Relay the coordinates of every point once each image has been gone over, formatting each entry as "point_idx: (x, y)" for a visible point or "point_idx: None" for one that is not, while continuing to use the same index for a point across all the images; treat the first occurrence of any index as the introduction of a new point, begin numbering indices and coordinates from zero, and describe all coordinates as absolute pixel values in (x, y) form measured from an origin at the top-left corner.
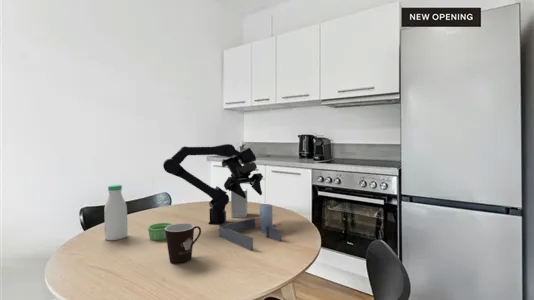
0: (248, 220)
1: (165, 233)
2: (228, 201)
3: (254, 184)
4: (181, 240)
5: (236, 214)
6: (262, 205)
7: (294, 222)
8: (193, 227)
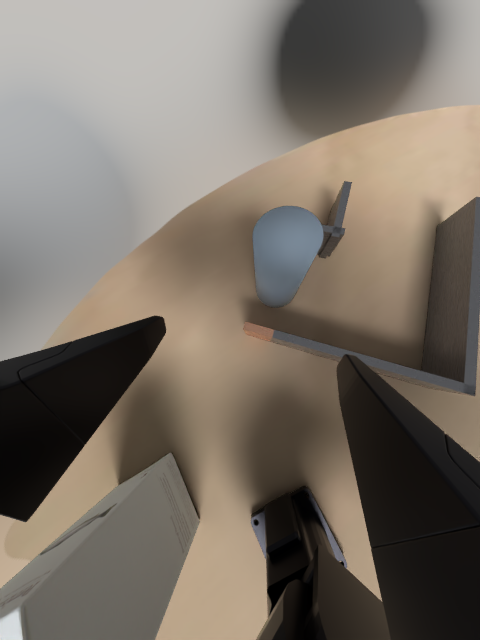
0: (307, 340)
1: None
2: (286, 596)
3: (7, 464)
4: None
5: (185, 506)
6: (294, 251)
7: (165, 263)
8: None
